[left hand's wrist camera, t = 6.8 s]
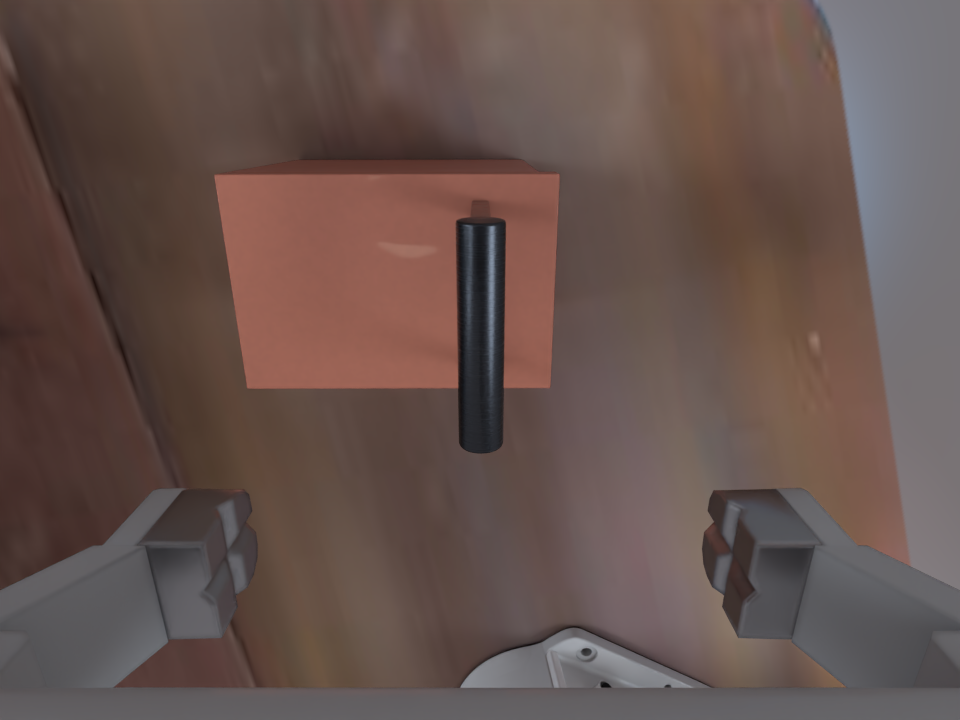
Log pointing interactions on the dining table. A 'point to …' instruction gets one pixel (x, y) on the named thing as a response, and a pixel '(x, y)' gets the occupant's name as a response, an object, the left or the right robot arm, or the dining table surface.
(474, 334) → the lid
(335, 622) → the dining table surface
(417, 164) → the chest
